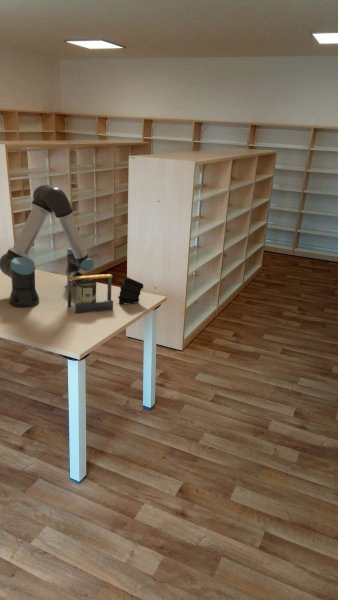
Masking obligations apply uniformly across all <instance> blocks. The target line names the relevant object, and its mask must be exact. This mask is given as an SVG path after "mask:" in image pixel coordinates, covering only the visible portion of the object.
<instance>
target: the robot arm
mask: <svg viewBox="0 0 338 600" xmlns="http://www.w3.org/2000/svg"><path fill="white" fill-rule="evenodd" d="M32 198H33V199H32V202H31V206H32V209H31V210H30V213H29V214H28V216H27V218H26V221H25V222H24V225H23V227H22V229H21V230H20V232H19V235H18V237H17V239H16V241H15V243H14V244H13V247H9V248H8V250H7V252H6V253H4V254H2V256H0V271H1V272H2V273H3V274H4V275H5V276H7V277H8V278H9V279H11V293H10V295H9V299H8V302H9V305H10V306H12V307H17V308H30V307H34V306H36V305H38V304H39V303H40V297H39V294H38V291H37V289H36V272H35V271H36V266H35V262H34V260H32V259H31V258H30V257H29V253H30V251H31V249H32V248H33V245H34V244H35V241H36V239H37V237H38V235H39V234H40V232H41V229H42V228H43V226H44V223H45V221H46V220H47V217H48V216H50V215H52V214H53V213H54V215H55V218H57V219H58V220H59V223H60V225H61V227H62V230H63V232H64V234H65V235H64V236H65V237H66V239H67V242H68V245H69V246H70V247H69V248H67V250H66V259H67V260H66V261H67V262H66V263H67V265H66V269H65V275H66V276H67V277H73V276H85V275H84V274H83V272H82V271H81V270H83V271H84V272H90V271H92V270H93V268H94V267H95V262H94V260H93V259H92V258H90V256H89V254H88V252H87V251H88V250H87V249H86V246H85V244H84V241H83V239H82V237H81V236H82V235H81V233H80V230H79V228H78V225H77V223H76V220H75V218H74V215H73V212H74V211H73V208H72V205H71V203H70V200H69V198H68V196H67V194H65V192H64V191H63V190H62V189H61V188H59V187H56V186H52V185H49V184H40V185H38V186H36V187H35V188H34V190H33V193H32ZM83 280H89V279H83ZM90 280H93V279H90ZM77 281H80V280H71V287H74V288H75V289H77Z"/></svg>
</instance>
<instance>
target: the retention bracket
mask: <svg viewBox="0 0 338 600" xmlns="http://www.w3.org/2000/svg"><path fill="white" fill-rule="evenodd" d="M112 278H113V274H111V273H107V274H106V273H105V274H104V273H103V274H91V275H84V276H73V277H68V276H67V277H66V279H67V280H66V281H67V282H66V285H67V286H66V287H67V288H66V289H67V295H66V296H67V309H71V308H72V286H71V280H83V279H88V280H91V279H92V280H95V279H107V293H106V294H107V295H106V296H107V299H106V300H99V301H96V302H87V303H77V302H76V303H74V313H75V314H76V315H77V314H86V313H87V314H88V313H96V312H105V311H106V310H107V311H113V310H114V300H113V299H112V281H113V279H112Z"/></svg>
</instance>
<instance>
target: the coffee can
mask: <svg viewBox="0 0 338 600" xmlns="http://www.w3.org/2000/svg"><path fill="white" fill-rule="evenodd" d="M87 302H97V282H96V281H95V280H94V279H92V280H91V279H88V280H80V281H77V288H76V303H87Z"/></svg>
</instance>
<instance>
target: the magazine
mask: <svg viewBox="0 0 338 600" xmlns="http://www.w3.org/2000/svg"><path fill="white" fill-rule="evenodd" d="M142 289H144V284H143V283H142V282H140V281H137V280H134V279H133V278H130V277H128V276H126V277H125V278H123V282H122V285H121V286H120V290H119V295H118V297H117V298H118V303H119V304H120V305H125V304H124V303H131V304H135V303H134V302H138V303H139V301H141V300H140V296H141V291H142Z"/></svg>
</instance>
